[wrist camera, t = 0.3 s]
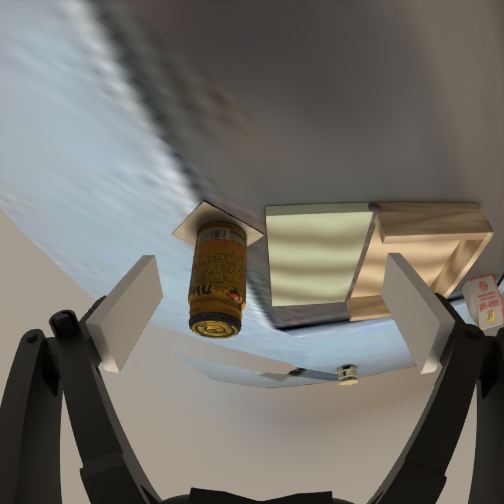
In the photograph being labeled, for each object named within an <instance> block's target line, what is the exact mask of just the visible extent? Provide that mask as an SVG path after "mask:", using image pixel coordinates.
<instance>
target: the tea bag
mask: <svg viewBox="0 0 504 504" xmlns="http://www.w3.org/2000/svg"><path fill="white" fill-rule="evenodd" d="M461 290H462V293H463V295H464V298H465V301H466V304H467V307H468V311H469V314H470V316H471V318H472V319H473V320H474V322H475V323H476V325H477V327H479V328H480V329H481V330H484V329H488V328H490V327H494V326H497V325H500V324H503V323H504V311H503V300H502V297H501V294H500V292H499V289H498V286H497V284H496V281H495V279H494V277H493V274H491V275H486V276H481V277H476V278H472V279H468V280H467V282H466V283H465V285H464V286H463V287H462V289H461Z"/></svg>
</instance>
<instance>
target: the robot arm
mask: <svg viewBox="0 0 504 504" xmlns="http://www.w3.org/2000/svg"><path fill="white" fill-rule="evenodd" d="M381 297H382V298H383V300H384V302H385V304H386V306H387V308H388V309H389V311H390V313H391V315H392V317H393V319H394V321H395V323H396V325H397V327H398V328H399V330H400V332H401V334H402V336H403V338H404V340H405V342H406V344H407V346H408V348H409V350H410V353H411V355H412V357H413V359H414V361H415V363H416V365H417V367H418V369H419V371H420V374H423V373H429V372H434V371H435V370H436V368H437V366H438V363H439V361H440V363H441V365H442V367H443V368H442V370H441V372H440V374H439V377H438V378H437V380H436V382H435V387H434V389H433V391H432V394H431V396H430V398H429V400H428V403H427V405H426V407H425V409H424V411H423V413H422V415H421V417H420V419H419V421H418V423H417V425H416V427H415V429H414V431H413V433H412V435H411V437H410V438H409V440H408V442H407V444H406V446H405V447H404V449H403V451H402V453H401V454H400V456H399V458H398V459H397V461H396V463H395V464H394V466H393V467H392V469H391V471H390V472H389V474H388V475H387V477H386V478H385V480H384V481H383V483H382V485H381V486H380V487H379V489H378V490H377V491H376V493H375V494H374V495H373V497H372V498H371V499H370V500H369V501H368V503H367V504H435V503H436V502H437V500H438V498H439V496H440V494H441V492H442V490H443V488H444V485H445V483H446V479H447V477H446V476H444V475H445V471H446V469H447V467H448V464H449V462H450V460H451V457H452V455H453V452H454V450H455V447H456V445H457V442H458V439H459V437H460V434H461V431H462V428H463V425H464V422H465V419H466V416H467V413H468V410H469V406H470V403H471V399H472V396H473V392H474V388H475V384H476V386H477V433H476V448H475V459H474V468H473V477H472V483H471V490H470V495H469V501H468V504H504V327H503V328H500V329H499V331H498V333H497V335H496V337H495V336H485V335H484V332H483V331H482V330H481V329H480V328H479V327H477V326H475V325H472V324H466V323H465V322H464V321H463V319H462V318H461V317H460V315H459V314H458V313H457V311H456V310H454V308H453V306H452V305H450V303H449V301H448V300H447V299H446V298H445V297H444V296H442V295H441V294H439V293H433V292H432V290H431V289H430V288H429V287H428V285H427V284H426V283H425V282H424V280H423V279H422V278H421V277H420V276H419V274H418V273H417V272H416V271H415V270H414V268H413V267H412V266H411V265H410V264H409V263H408V261H407V260H406V259H405V258H404V257H403V256H402V255H401V253H388V255H387V262H386V268H385V274H384V280H383V286H382V291H381ZM162 298H163V293H162V288H161V284H160V279H159V274H158V268H157V263H156V258H155V255H143V256H142V257H141V258H140V259H139V261H138V262H137V263H136V264H135V265H134V266H133V267H132V268H131V269H130V270H129V272H128V273H127V274H126V275H125V276H124V277H123V278H122V279H121V281H120V282H119V283H118V284H117V285H116V286H115V287H114V289H113V290H112V291H111V292H110V293H109V294H108V296H103V297H102V298H100V299H99V300H97V301H96V302H95V303H94V305H93V306H92V308H90V309H89V310H88V312H87V313H86V314H85V315H84V316H83V317H82V319H81V320H80V321H79V322H78V320H77V317H76V315H75V313H74V312H73V311H72V310H62V311H59V312H57V313H55V314H54V315H53V316H52V317H51V318H50V320H49V324H50V326H51V329H52V331H53V333H54V335H55V337H49V338H46V337H45V335H44V333H43V331H42V330H40V329H34V330H30V331H28V332H26V334H24V335H23V337H22V338H21V340H20V343H19V346H18V349H17V352H16V355H15V357H14V361H13V364H12V367H11V370H10V373H9V377H8V380H7V383H6V388H5V391H4V395H3V398H2V403H1V407H0V504H62V497H61V482H60V426H61V409H62V396H63V391H64V396H65V401H66V405H67V410H68V414H69V418H70V422H71V426H72V430H73V433H74V437H75V441H76V444H77V447H78V451H79V454H80V457H81V460H82V463H83V468H81V469H80V475H81V479H82V481H83V484H84V487H85V490H86V492H87V495H88V497H89V500H90V502H91V504H354V503H352V502H349V501H346V500H341V499H337V498H332V491H327V492H316V493H298V494H294V495H290V496H285V497H281V498H276V499H271V500H266V501H256V500H252V499H248V498H245V497H241V496H238V495H234V494H231V493H227V492H223V491H214V490H206V489H198V488H191V491H190V494H188V495H180V496H176V497H171V498H168V499H166V500H163V501H162V500H161V498H160V497H159V495H158V494H157V493H156V491H155V490H154V488H153V487H152V485H151V484H150V482H149V480H148V478H147V476H146V475H145V473H144V471H143V469H142V467H141V465H140V464H139V462H138V460H137V458H136V456H135V454H134V452H133V450H132V448H131V446H130V444H129V441H128V439H127V437H126V435H125V433H124V431H123V428H122V426H121V424H120V422H119V419H118V417H117V415H116V412H115V410H114V408H113V405H112V402H111V400H110V397H109V395H108V392H107V389H106V387H105V384H104V381H103V379H102V376H101V373H100V370H99V368H98V366H99V364H100V362H101V361H102V363H103V365H104V368H105V370H106V371H111V372H117V373H120V371H121V369H122V368H123V366H124V364H125V362H126V360H127V359H128V357H129V355H130V353H131V351H132V350H133V348H134V346H135V344H136V342H137V341H138V339H139V337H140V335H141V334H142V332H143V330H144V328H145V327H146V324H147V323H148V321H149V320H150V318H151V316H152V315H153V313H154V311H155V309H156V308H157V306H158V304H159V303H160V301H161V299H162Z"/></svg>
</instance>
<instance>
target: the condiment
mask: <svg viewBox="0 0 504 504" xmlns="http://www.w3.org/2000/svg"><path fill="white" fill-rule="evenodd" d="M172 236H174V237H176V238H178V239H180V240H183V241H184V242H186V243H189V244H191V245H192V246H195V253H194V257H193V265H192V274H191V280H190V287H189V295H188V303H189V305H190V312H189V313H190V319H189V327H190V329H191V330H192V331H193V332H195V333H196V334H198V335H201V336H204V337H209V338H229V337H232V336H235V335H237V334H238V333H239V332H240V330H241V326H242V325H241V319H242V310H243V309H244V307H245V304H246V280H247V276H246V272H247V269H246V268H247V247H248V246H249V245H250V244H252V243H254V242H255V241H257V240H258V239H259V238H261V237H262V236H263V234H261V233H260V232H258V231H256V230H255V229H253V228H252V227H249V226H248V225H246V224H245V223H243V222H241V221H239V220H237V219H235V218H234V217H231V216H229V215H228V214H226V213H224V212H223V211H221V210H219V209H217V208H215V207H213V206H211V205H209V204H208V203H206V202H203V203H202V204H201V205H200V206H198V208H197V209H195V210H194V212H193V213H191V214H190V216H189V217H188V218H187V219H186V220H185V221H183V223H182V224H181V225H180V226H179V227H178V228H177V229H176V231H175V232H174V233H173V234H172Z"/></svg>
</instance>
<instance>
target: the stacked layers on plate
mask: <svg viewBox="0 0 504 504" xmlns="http://www.w3.org/2000/svg"><path fill="white" fill-rule="evenodd" d="M338 372H339V373H337V374H338V375H339V379H338V381H344V382H342V383H339V385H351V384H354V383H358V381H356V380H355V379H358V378H359V377H357V373H358V371H357V370H356V367H354V366H350V369H346V368H345V369H344V368H343V367H340V368H338Z"/></svg>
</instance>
